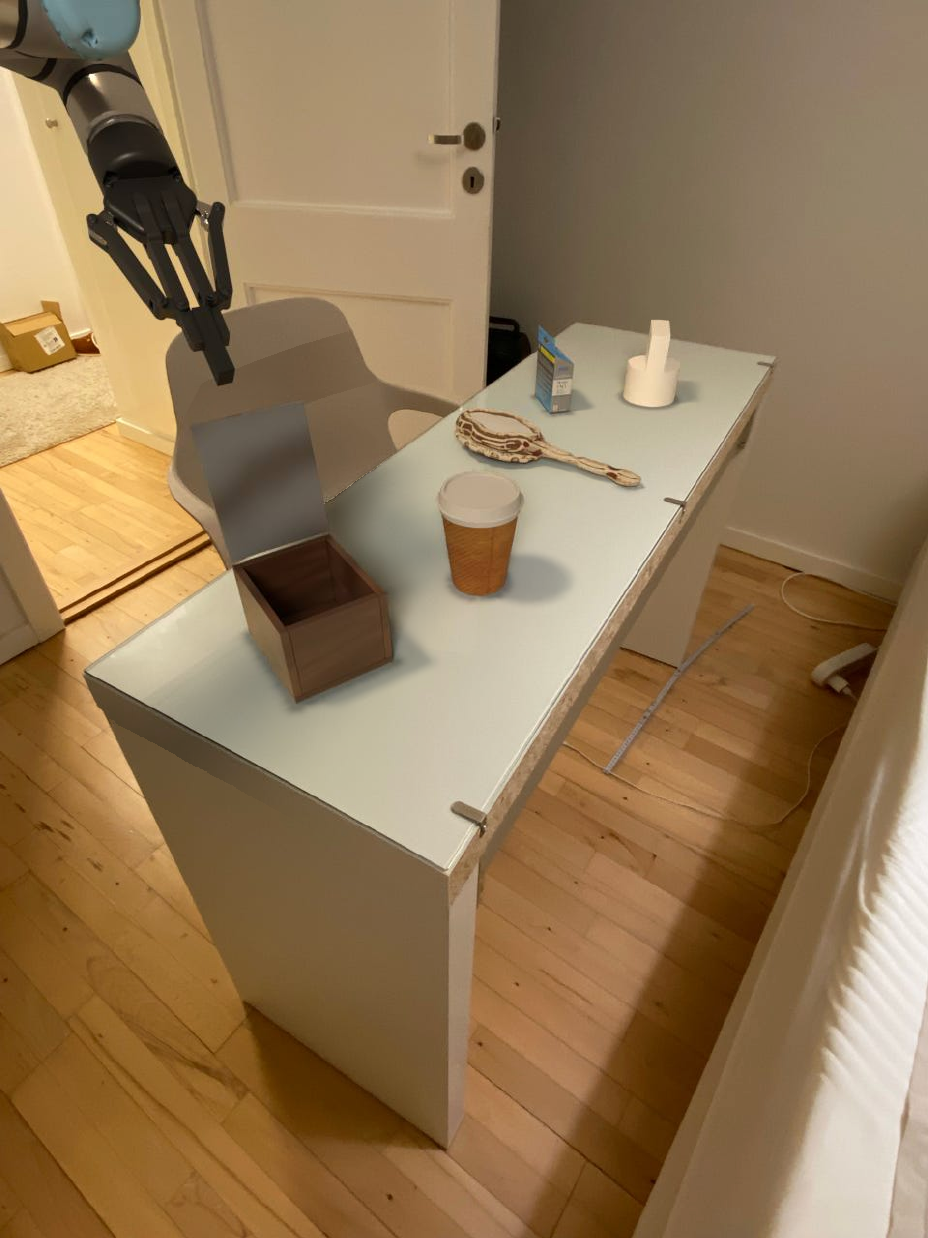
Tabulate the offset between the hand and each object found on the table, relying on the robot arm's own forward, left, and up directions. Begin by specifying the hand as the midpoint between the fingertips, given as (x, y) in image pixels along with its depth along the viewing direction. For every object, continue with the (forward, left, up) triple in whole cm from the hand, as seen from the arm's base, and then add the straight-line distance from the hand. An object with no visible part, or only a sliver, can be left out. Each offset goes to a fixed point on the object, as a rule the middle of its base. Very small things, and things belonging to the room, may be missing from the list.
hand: (226, 377), depth 65 cm
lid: (+3, -6, -8) cm, 11 cm away
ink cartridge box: (+43, +49, -24) cm, 70 cm away
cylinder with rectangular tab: (+61, +50, -24) cm, 83 cm away
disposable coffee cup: (+24, -2, -24) cm, 34 cm away
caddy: (+6, -12, -24) cm, 28 cm away
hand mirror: (+37, +26, -24) cm, 52 cm away
